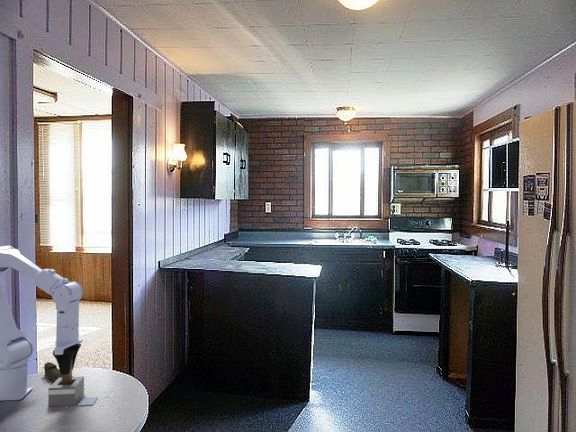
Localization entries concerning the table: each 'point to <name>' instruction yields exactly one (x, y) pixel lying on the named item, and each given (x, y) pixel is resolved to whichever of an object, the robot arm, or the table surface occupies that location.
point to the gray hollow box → (65, 392)
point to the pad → (88, 401)
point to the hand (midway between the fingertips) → (66, 372)
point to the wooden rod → (67, 378)
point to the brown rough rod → (52, 371)
